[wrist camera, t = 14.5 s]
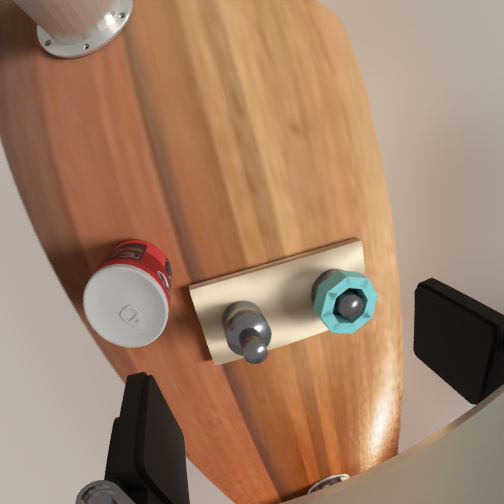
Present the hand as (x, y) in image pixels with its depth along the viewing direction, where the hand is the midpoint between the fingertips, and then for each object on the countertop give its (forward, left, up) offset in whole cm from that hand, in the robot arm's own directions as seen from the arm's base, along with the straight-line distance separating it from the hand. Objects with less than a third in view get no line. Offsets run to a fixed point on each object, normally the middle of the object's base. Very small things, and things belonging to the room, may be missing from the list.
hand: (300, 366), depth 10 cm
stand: (+12, 0, -27) cm, 29 cm away
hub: (+12, +12, -27) cm, 32 cm away
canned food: (+3, -10, -28) cm, 30 cm away
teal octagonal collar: (+12, +12, -24) cm, 30 cm away
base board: (+12, +6, -28) cm, 31 cm away
